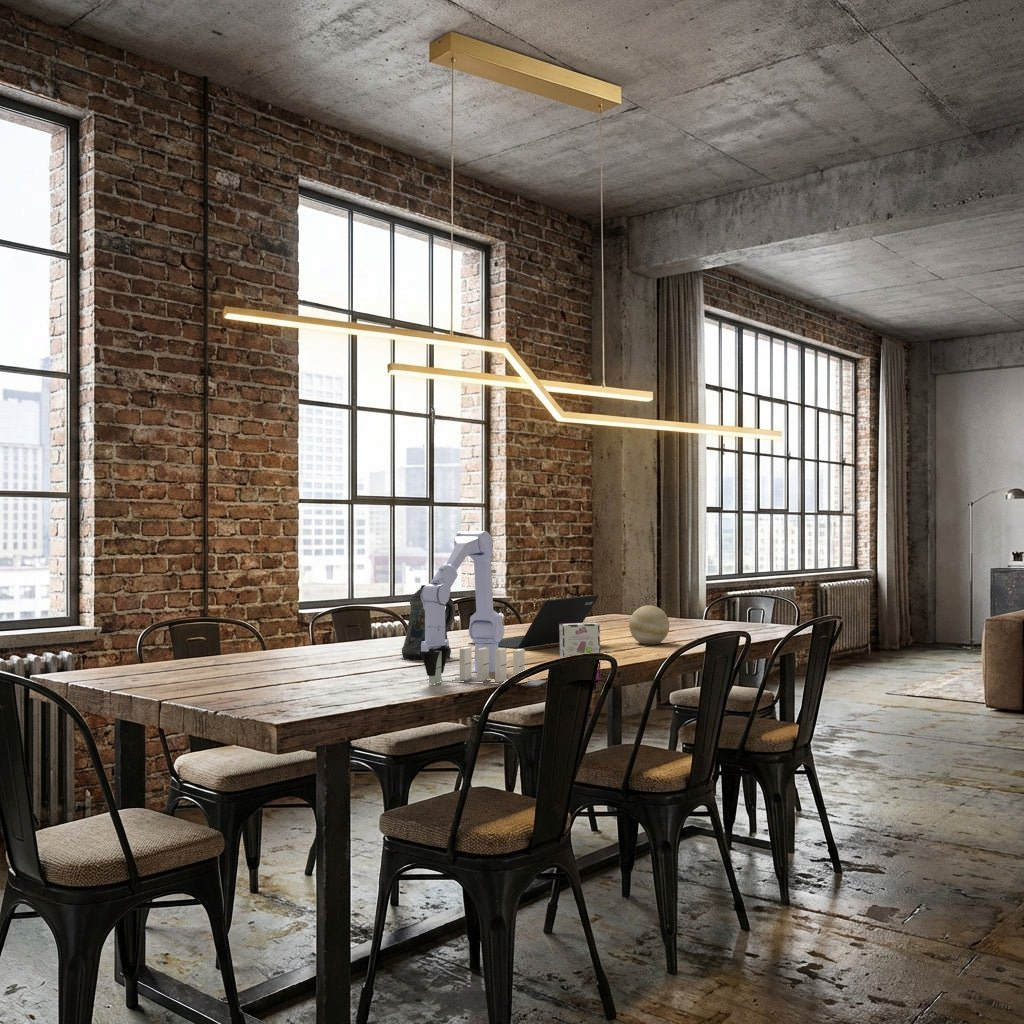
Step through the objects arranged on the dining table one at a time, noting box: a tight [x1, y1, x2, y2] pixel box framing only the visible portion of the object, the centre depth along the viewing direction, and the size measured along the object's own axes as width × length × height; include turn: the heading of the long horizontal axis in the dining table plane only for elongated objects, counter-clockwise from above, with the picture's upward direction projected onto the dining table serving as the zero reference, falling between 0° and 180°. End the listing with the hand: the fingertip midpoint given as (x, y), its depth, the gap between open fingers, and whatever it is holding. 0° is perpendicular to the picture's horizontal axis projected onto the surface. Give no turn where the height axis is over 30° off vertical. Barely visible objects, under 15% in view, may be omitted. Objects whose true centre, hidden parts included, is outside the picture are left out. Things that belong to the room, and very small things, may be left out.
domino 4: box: [512, 648, 526, 676], centre depth 294 cm, size 2×5×9 cm, turn 159°
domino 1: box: [459, 646, 473, 680], centre depth 299 cm, size 2×5×9 cm, turn 159°
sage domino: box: [428, 651, 443, 684], centre depth 293 cm, size 2×5×9 cm, turn 159°
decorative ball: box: [628, 604, 670, 646], centre depth 389 cm, size 15×15×15 cm
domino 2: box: [476, 647, 490, 681], centre depth 297 cm, size 2×5×9 cm, turn 159°
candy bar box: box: [559, 622, 601, 681], centre depth 299 cm, size 11×5×16 cm, turn 101°
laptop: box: [468, 594, 599, 650], centre depth 388 cm, size 33×38×19 cm
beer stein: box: [401, 584, 456, 661], centre depth 349 cm, size 16×19×25 cm
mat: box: [452, 676, 547, 687], centre depth 297 cm, size 36×9×1 cm, turn 69°
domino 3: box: [494, 647, 508, 682], centre depth 296 cm, size 2×5×9 cm, turn 160°
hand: (435, 674), depth 293 cm, fingers closed on sage domino, 5 cm apart
